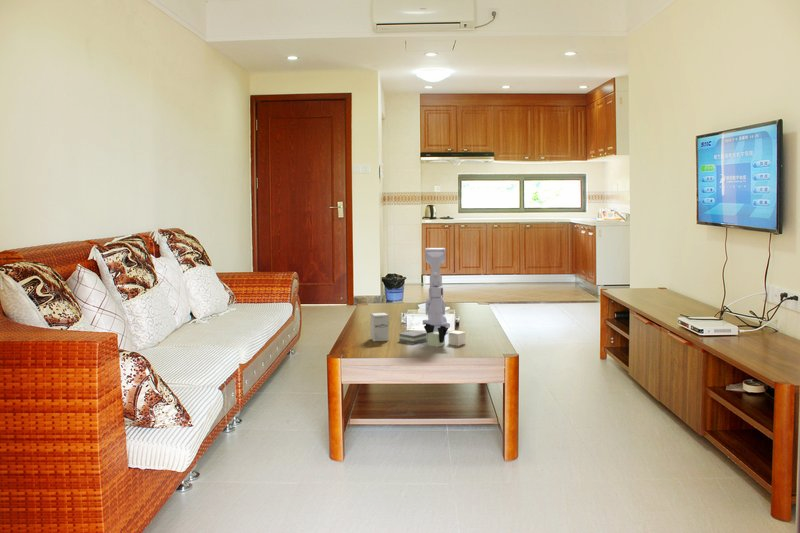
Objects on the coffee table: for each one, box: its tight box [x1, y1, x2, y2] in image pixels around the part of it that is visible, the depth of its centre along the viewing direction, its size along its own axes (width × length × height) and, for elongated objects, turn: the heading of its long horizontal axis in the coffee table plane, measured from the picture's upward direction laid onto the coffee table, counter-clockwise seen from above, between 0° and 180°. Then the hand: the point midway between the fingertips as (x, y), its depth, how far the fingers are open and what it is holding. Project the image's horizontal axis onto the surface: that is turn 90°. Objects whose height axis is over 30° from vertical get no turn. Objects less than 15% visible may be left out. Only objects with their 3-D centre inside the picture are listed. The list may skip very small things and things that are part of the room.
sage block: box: [427, 331, 446, 348], centre depth 313 cm, size 6×6×6 cm
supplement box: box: [370, 312, 390, 343], centre depth 325 cm, size 7×7×13 cm
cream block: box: [448, 330, 466, 347], centre depth 316 cm, size 6×6×6 cm
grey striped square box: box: [398, 330, 427, 345], centre depth 323 cm, size 9×9×4 cm
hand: (436, 341), depth 314 cm, fingers closed on sage block, 6 cm apart
